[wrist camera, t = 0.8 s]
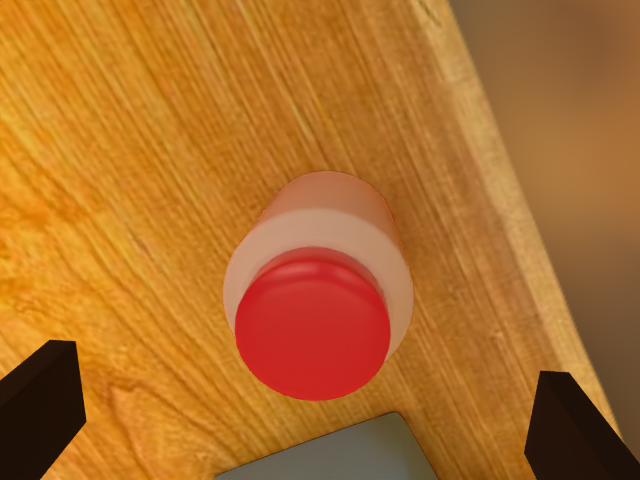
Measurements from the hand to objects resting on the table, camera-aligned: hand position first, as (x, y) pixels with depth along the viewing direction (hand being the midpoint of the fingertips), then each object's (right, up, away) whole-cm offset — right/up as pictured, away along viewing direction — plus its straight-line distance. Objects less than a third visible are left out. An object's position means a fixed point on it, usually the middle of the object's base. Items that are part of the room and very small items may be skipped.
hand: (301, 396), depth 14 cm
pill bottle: (+1, +5, +14) cm, 14 cm away
